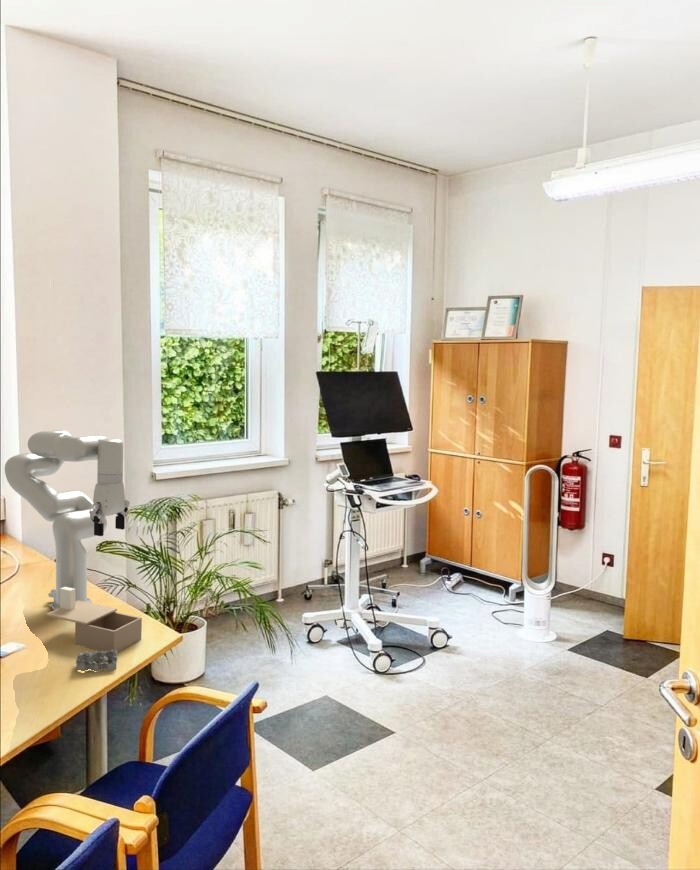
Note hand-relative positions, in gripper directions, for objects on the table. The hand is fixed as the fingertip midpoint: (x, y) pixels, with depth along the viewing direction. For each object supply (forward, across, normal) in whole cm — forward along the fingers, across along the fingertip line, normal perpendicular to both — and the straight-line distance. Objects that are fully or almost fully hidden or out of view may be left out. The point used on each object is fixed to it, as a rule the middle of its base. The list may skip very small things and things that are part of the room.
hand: (109, 532), depth 223 cm
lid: (+21, +14, +2) cm, 26 cm away
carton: (+28, +14, +12) cm, 34 cm away
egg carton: (+29, +28, +20) cm, 45 cm away
